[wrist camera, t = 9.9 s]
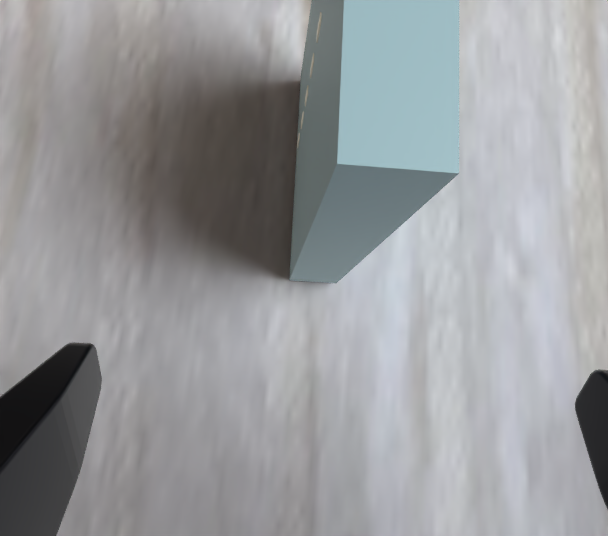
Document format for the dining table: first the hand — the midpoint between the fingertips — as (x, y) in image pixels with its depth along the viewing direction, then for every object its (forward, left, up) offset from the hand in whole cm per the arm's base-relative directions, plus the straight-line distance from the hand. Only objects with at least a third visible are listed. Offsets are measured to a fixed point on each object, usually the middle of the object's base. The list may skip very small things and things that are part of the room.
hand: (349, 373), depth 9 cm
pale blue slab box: (+4, -5, -8) cm, 10 cm away
